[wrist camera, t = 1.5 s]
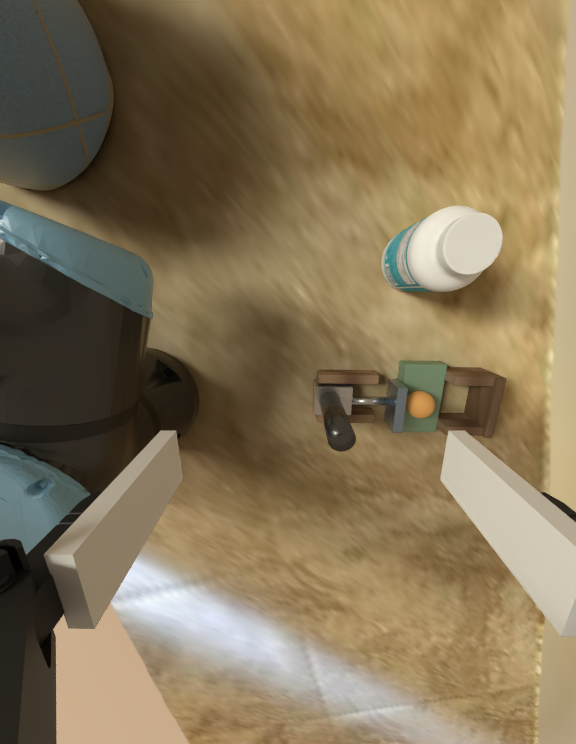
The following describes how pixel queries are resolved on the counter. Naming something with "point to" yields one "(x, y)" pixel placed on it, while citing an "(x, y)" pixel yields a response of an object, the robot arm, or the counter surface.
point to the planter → (50, 93)
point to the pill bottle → (442, 251)
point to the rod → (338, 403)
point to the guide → (351, 378)
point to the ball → (420, 404)
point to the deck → (423, 379)
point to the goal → (474, 402)
